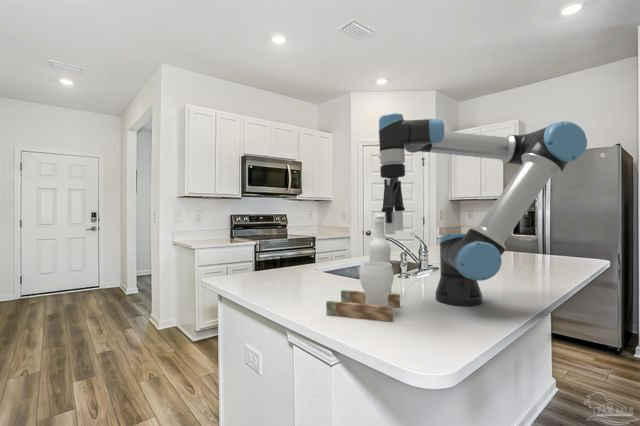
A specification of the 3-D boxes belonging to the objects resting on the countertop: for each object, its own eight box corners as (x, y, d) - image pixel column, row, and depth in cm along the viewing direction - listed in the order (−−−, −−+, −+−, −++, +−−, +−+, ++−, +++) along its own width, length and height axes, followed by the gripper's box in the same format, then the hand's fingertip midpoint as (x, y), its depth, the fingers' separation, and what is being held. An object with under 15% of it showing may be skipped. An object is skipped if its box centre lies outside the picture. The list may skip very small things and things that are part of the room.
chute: (400, 306, 112) (399, 294, 112) (391, 321, 98) (391, 307, 98) (342, 301, 120) (342, 290, 120) (326, 314, 105) (326, 301, 105)
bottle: (367, 297, 125) (365, 215, 124) (372, 292, 132) (371, 214, 132) (389, 299, 122) (388, 215, 121) (393, 293, 129) (392, 214, 129)
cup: (392, 307, 112) (391, 261, 112) (396, 317, 101) (395, 267, 101) (359, 306, 113) (359, 261, 113) (360, 316, 103) (359, 267, 102)
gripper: (389, 169, 119) (391, 229, 120) (370, 161, 97) (372, 235, 97) (410, 167, 116) (413, 229, 117) (396, 158, 94) (399, 235, 94)
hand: (394, 232), depth 107 cm, fingers open, 13 cm apart
